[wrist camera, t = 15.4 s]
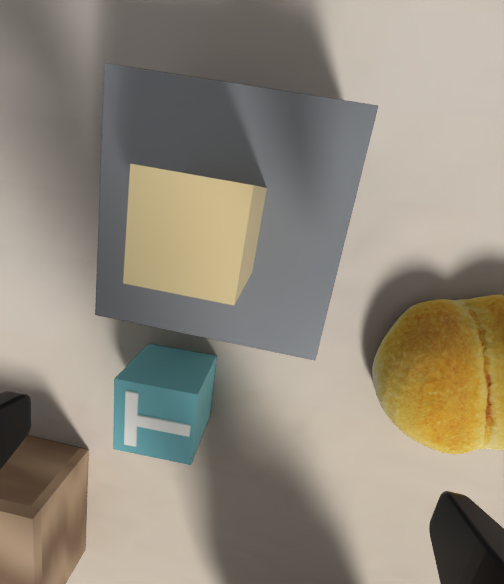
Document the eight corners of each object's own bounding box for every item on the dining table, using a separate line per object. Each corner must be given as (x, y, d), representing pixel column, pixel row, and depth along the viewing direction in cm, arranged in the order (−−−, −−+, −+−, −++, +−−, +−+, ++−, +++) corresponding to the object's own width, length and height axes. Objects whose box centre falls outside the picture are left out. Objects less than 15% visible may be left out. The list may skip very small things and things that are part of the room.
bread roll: (363, 301, 18) (382, 330, 14) (556, 281, 16) (636, 307, 13) (372, 436, 20) (391, 494, 16) (544, 429, 19) (609, 490, 15)
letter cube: (210, 414, 21) (190, 466, 17) (146, 402, 21) (112, 450, 17) (216, 355, 20) (197, 395, 16) (149, 343, 20) (113, 379, 16)
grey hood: (309, 316, 18) (323, 427, 10) (146, 283, 19) (20, 360, 10) (352, 132, 16) (424, 56, 7) (160, 101, 16) (7, -4, 8)
